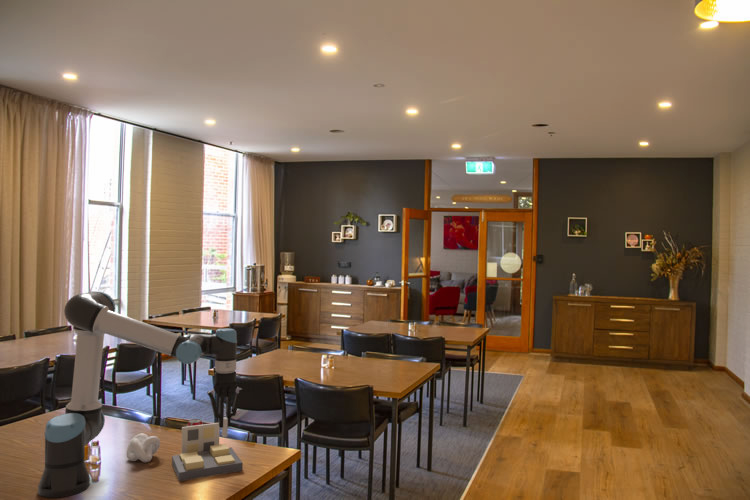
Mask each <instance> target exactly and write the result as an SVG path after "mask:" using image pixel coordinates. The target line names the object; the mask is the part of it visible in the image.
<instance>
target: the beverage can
mask: <svg viewBox="0 0 750 500" xmlns="http://www.w3.org/2000/svg"><path fill="white" fill-rule="evenodd" d="M187 422H188V423H187V424H186V427H187V426H195V425H203V424H204V422H203V421H202V419H201V418H192V419H189V420H188V421H187Z"/></svg>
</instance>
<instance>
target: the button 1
mask: <svg viewBox="0 0 750 500" xmlns="http://www.w3.org/2000/svg"><path fill="white" fill-rule="evenodd" d="M179 455H180V460H181V462H183V458H187V457H194V456H198V454H197V452H190V453H183V454H182V453H180V454H179Z"/></svg>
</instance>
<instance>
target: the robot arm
mask: <svg viewBox="0 0 750 500" xmlns="http://www.w3.org/2000/svg"><path fill="white" fill-rule="evenodd" d="M63 309H64V311H63V312H64V317H65V319H66V321H67V322H68V323H69V324H70V325H71V326H73V327H72V329H73V331H74V332H75V333H76V334H77V335H76V337H77V338H76V348H75V357H74V358H75V359H74V367H73V377H72V388H71V389H72V391H71V398H70V401H69V402H68V403H67V404H66V405H65V410H64V413H63V414H60V415H57V416H55V417H52V418H51V419H50V420H48V421H47V423H46V424H45V430H44V468H43V471H42V475H41V477H40V480H39V484H38V486H37V488H38V490H37V494H38V495H39V496H40V497H42V498H48V499H53V498H54V499H56V498H65V497H69V496H74V495H77V494H79V493H82V492H84V491H85V490H87V489H88V488H89V487H90V485H91V478H90V474H89V472H88V469H87V466H86V464H85V463H86V462H85V453H86V451H85V450H86V449H85V446H87V445H88V444H89V443H90V442H91V441H93V440H94V439H96V437H99V435H100V433H101V432H102V431H103V428H104V426H105V422H106V418H105V414H104V412H103V410H102V408H103V404H102V403H101V402H100V400H99V394H100V392H99V391H100V383H101V372H102V371H101V370H102V360H103V351H104V350H103V348H104V340H105V339H104V338H105V335H109V336H111V337H114V338H117V339H120V340H124V341H126V342H129V343H132V344H135V345H138V346H141V347H144V348H147V349H150V350H153V351H156V352H158V353H162V354H164V355H167V356H169V357H172V358H176V359H177V360H178V361H179V362H180V363H181V364H185V365H190V364H193V363H195V362H197V361H198V360H199V359H200V358H202V356H215V358H214V360H215V361H214V363H215V365H214V370H215V373H214V385H213V388H212V389H211V390H207V392H206V394H207V395H208V397H209V399H210V404H211V408H212V412H213V416H214V417H215V418H217V419H219V420H218V423H219V429H220V428H221V437H223V438H227V437H228V427H230V428H231V419H232V417H235V416H236V414H237V410H238V406H239V404H240V398H241V395H242V394H243V392H244V389H243V388H241V387H239V386H238V384H237V372H236V370H237V351H238V350H237V349H238V339H237V335H238V334H237V330H235V329H234V328H218V329H216V330H215V333H214V334H195V333H190V334H183V335H181V334H177V333H175V332H174V331H173V332H172V331H169V330H166V329H165V328H162V327H158V326H155V325H152V324H149V323H147V322H144V321H141V320H138V319H135V318H132V317H129V316H127V315H123V314H121V313H118V312H116V304H115V301H114V299H113V297H111V295H109V294H108V293H106V292H102V291H96V290H95V291H93V290H92V291H88V292H85V293H83V292H82V293H79V294H76V295H74V296H72V297H70V299H68V300H67V302H66V304H65V306H64V308H63ZM215 393H216V394H217V396H218V406H217V404H216V398H215V396H216V395H215ZM234 393H235V394H234ZM233 395H235V396H234V398H233V403H232V396H233ZM225 399H226V400H225ZM225 401H226V403H225ZM217 407H218V408H219V409H218V408H217ZM225 407H226V408H225ZM225 409H226V410H225ZM224 411H225V414H224ZM224 415H225V416H224Z"/></svg>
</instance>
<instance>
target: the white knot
mask: <svg viewBox="0 0 750 500" xmlns="http://www.w3.org/2000/svg"><path fill="white" fill-rule="evenodd" d="M160 446H161V440H160V438H159V437H158V436H156V435H155V436H154V435H151V436H148V435H147V434H146V433H141V432H140V433H138V434H136V435H134V436H133V438H132V439H131V440H130V441H129V444H128V446H127V450H126V458H127V459H128V461H130V462H136V461H138V460H140V461H141V462H143V463H148V462H151V460H152V459H153V455H155V454H156V453H157V452H158V450H159V449H160Z"/></svg>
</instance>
